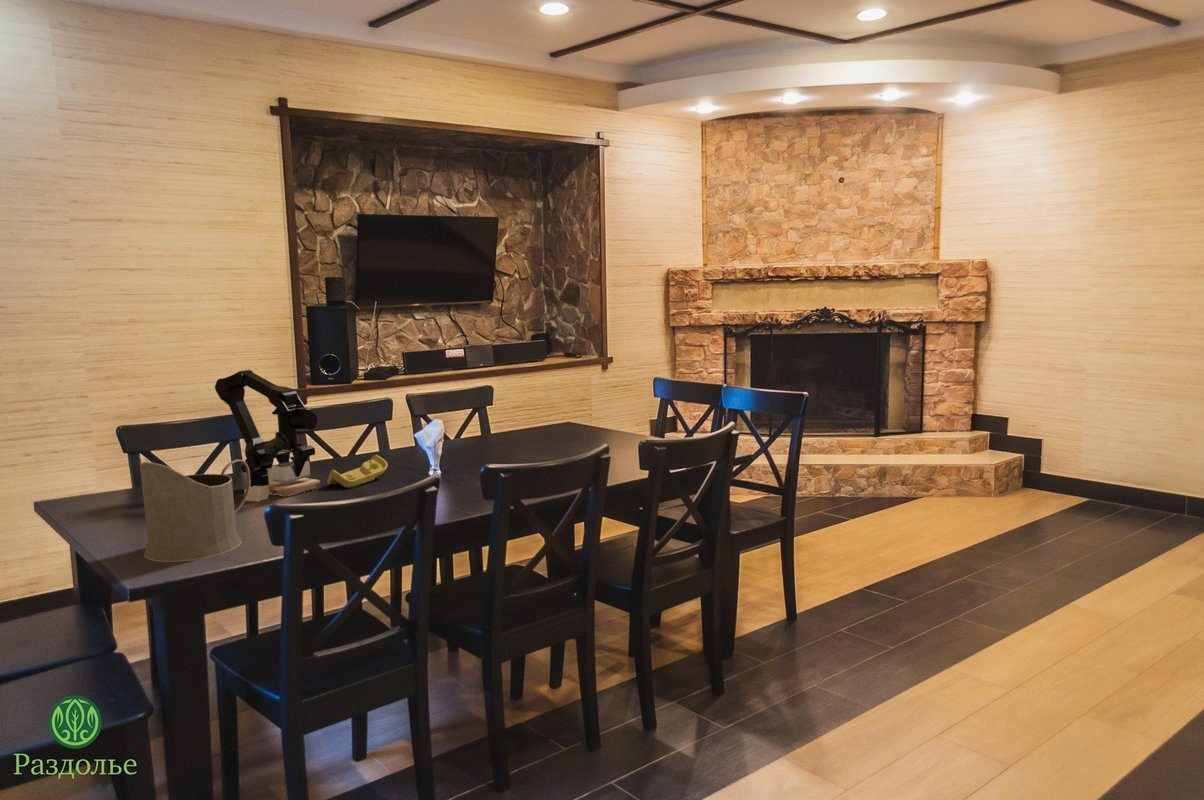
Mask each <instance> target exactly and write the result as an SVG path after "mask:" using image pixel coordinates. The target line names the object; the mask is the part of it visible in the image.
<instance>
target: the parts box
mask: <svg viewBox="0 0 1204 800" xmlns="http://www.w3.org/2000/svg"><path fill="white" fill-rule="evenodd" d="M243 492H244V493H245V492H246V489H245V488H244V491H243ZM268 496H269V497H270V494H269V489H268V486H252V487H250V490H249V493H248V496H247V498H246V500H261V499H264V498H266V497H268Z"/></svg>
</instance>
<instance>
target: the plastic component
mask: <svg viewBox="0 0 1204 800" xmlns="http://www.w3.org/2000/svg"><path fill="white" fill-rule="evenodd" d="M388 467H389V465H388V462H387V461H386V460H385V459H384V458H383V457H381V456H380V455H378V454H375V455H373V456H372V457H371V458H370V459H369V460H367V461H365V462H363V463H362V464H361V466H360V467H356V468H355V469H352V470H349V471H346V472H344V473H339V472H338V471H336V470H335V469H332V470H330V473H329V475H328V477H327V481H326V482H327V484H328V485H330V484H333V483H337V482H338V483H337V484H340V485H341V486H343V487H344V488H346V487H351V486H356V485H359V484H362V483H364V484H367V483H369V481H370V482H372V481H374V480H375V477H376V478H377V477H378V476H380V475H382V474H383V473H384V472H385V471H386V470H387V468H388ZM366 482H367V483H366ZM333 485H334V484H333ZM362 485H363V484H362ZM359 486H360V485H359ZM356 487H357V486H356Z"/></svg>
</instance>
